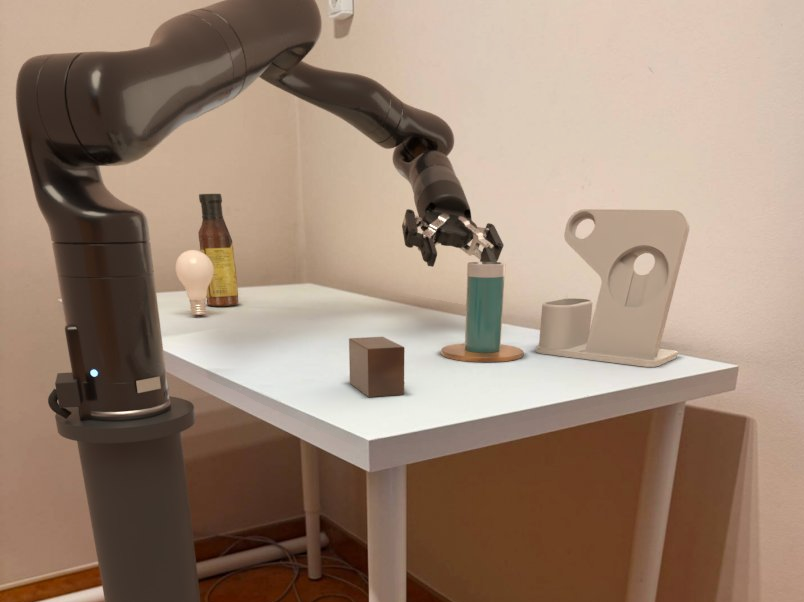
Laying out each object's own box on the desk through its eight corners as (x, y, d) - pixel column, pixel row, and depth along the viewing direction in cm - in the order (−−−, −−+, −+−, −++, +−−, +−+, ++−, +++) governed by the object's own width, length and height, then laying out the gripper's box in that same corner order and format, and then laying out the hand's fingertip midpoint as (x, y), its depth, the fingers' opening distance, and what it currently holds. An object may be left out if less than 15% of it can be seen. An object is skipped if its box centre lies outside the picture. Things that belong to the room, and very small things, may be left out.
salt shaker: (494, 315, 92) (470, 243, 96) (465, 368, 102) (443, 301, 106) (530, 314, 94) (504, 242, 97) (497, 366, 104) (475, 299, 107)
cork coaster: (461, 364, 96) (461, 359, 96) (429, 349, 105) (429, 345, 105) (538, 359, 99) (538, 354, 99) (500, 345, 109) (500, 341, 109)
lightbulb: (188, 320, 129) (181, 251, 125) (175, 315, 134) (167, 249, 129) (223, 317, 133) (217, 250, 128) (209, 313, 137) (203, 248, 133)
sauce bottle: (245, 305, 149) (237, 193, 141) (221, 308, 144) (211, 193, 136) (222, 302, 152) (212, 193, 144) (198, 305, 147) (186, 193, 139)
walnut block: (368, 397, 79) (367, 349, 77) (349, 383, 85) (348, 338, 83) (404, 394, 81) (404, 346, 79) (383, 381, 87) (383, 336, 85)
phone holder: (529, 352, 104) (540, 208, 97) (562, 342, 112) (574, 208, 104) (654, 367, 95) (676, 210, 87) (680, 356, 102) (703, 210, 95)
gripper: (476, 233, 119) (499, 295, 110) (389, 218, 115) (405, 281, 106) (492, 187, 114) (518, 248, 104) (402, 170, 110) (420, 232, 100)
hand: (461, 265), depth 105 cm, fingers open, 8 cm apart
